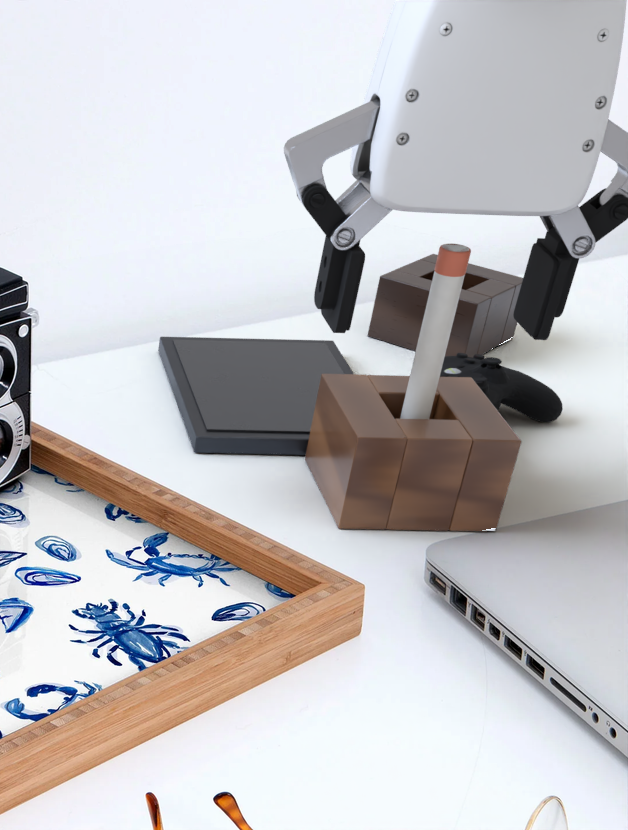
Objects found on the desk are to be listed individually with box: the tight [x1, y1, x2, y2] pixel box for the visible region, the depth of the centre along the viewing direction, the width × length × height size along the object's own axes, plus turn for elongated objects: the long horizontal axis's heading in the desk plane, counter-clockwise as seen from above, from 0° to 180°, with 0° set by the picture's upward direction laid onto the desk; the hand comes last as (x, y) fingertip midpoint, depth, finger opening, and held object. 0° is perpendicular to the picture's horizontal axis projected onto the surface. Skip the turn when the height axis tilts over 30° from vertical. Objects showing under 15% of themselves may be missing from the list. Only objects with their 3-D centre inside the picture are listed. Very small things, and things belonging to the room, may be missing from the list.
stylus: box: [400, 243, 472, 419], centre depth 73 cm, size 1×1×13 cm
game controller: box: [440, 353, 563, 423], centre depth 84 cm, size 10×5×7 cm
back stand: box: [367, 253, 523, 358], centre depth 95 cm, size 7×7×4 cm
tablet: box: [157, 336, 355, 456], centre depth 86 cm, size 11×15×1 cm
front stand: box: [304, 373, 522, 532], centre depth 76 cm, size 8×8×5 cm
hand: (431, 326), depth 72 cm, fingers open, 9 cm apart
